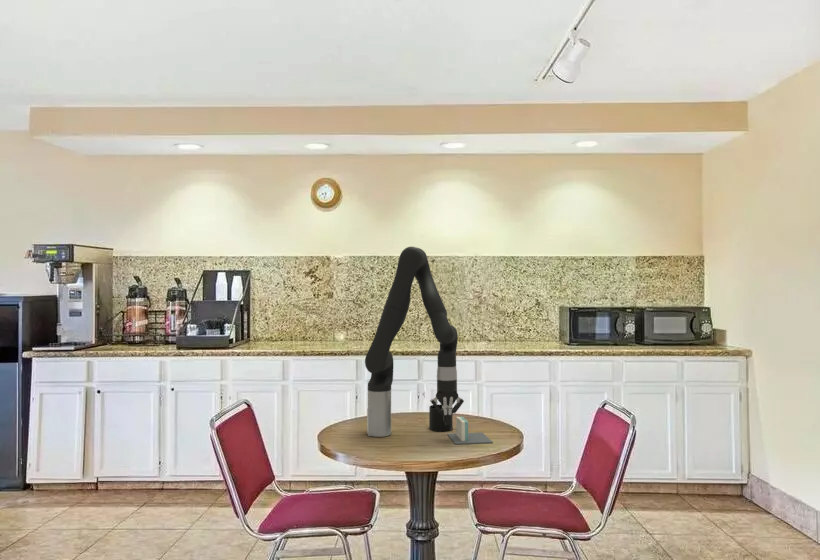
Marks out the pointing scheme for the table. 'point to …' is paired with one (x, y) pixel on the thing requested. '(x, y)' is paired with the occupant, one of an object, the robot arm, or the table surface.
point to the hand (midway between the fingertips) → (447, 424)
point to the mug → (438, 420)
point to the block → (462, 428)
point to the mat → (470, 439)
